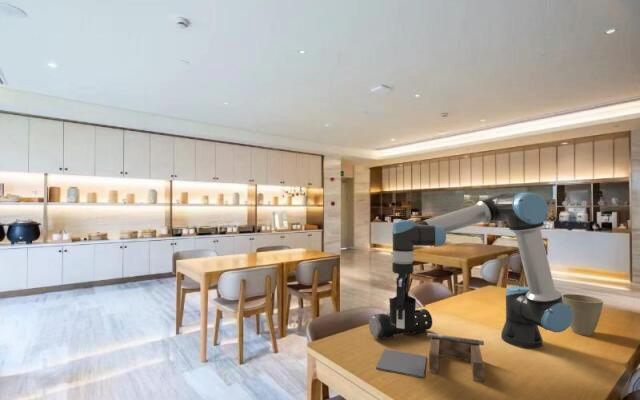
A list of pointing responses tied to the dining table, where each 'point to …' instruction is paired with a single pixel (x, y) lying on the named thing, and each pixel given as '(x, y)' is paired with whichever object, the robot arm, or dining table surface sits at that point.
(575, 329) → the plant pot
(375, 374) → the dining table surface
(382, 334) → the muzzle brake
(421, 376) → the mat
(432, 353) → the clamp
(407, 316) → the pen holder
